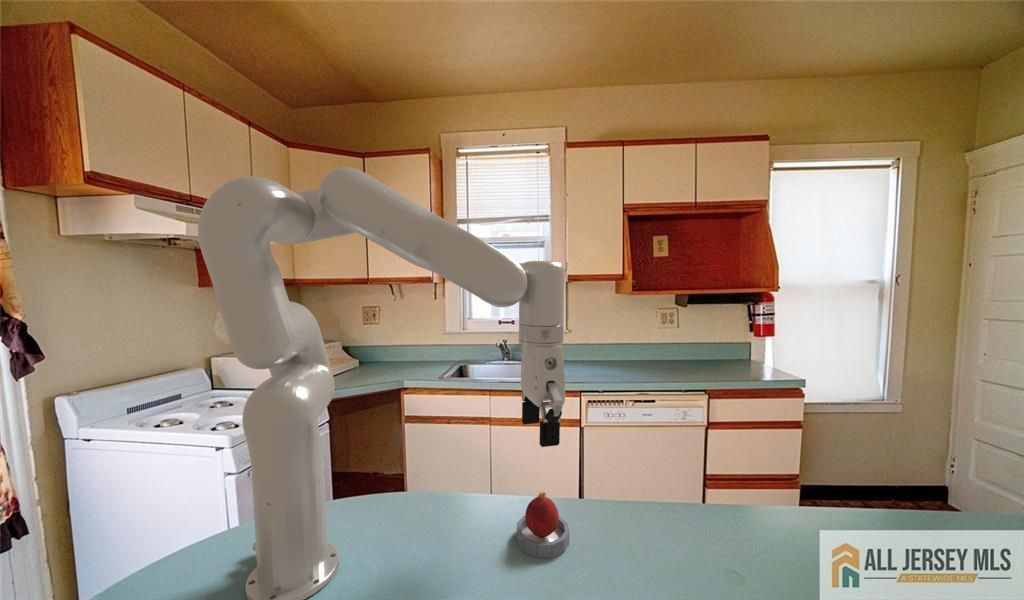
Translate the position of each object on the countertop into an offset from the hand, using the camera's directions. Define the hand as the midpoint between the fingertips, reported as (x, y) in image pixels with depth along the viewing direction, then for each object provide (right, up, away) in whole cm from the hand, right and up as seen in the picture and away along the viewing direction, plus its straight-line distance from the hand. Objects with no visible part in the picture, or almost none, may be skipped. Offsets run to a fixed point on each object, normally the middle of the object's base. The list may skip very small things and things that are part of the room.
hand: (539, 433), depth 68 cm
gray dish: (+1, -19, +1) cm, 19 cm away
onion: (+1, -19, +1) cm, 19 cm away
